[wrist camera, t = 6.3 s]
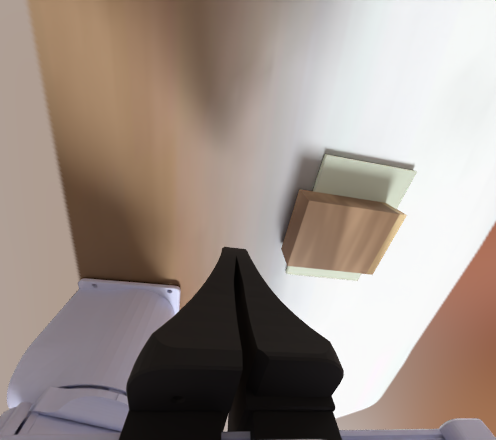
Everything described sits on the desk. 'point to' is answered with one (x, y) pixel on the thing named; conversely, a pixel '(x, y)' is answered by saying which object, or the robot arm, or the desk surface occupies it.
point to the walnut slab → (339, 232)
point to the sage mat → (357, 193)
